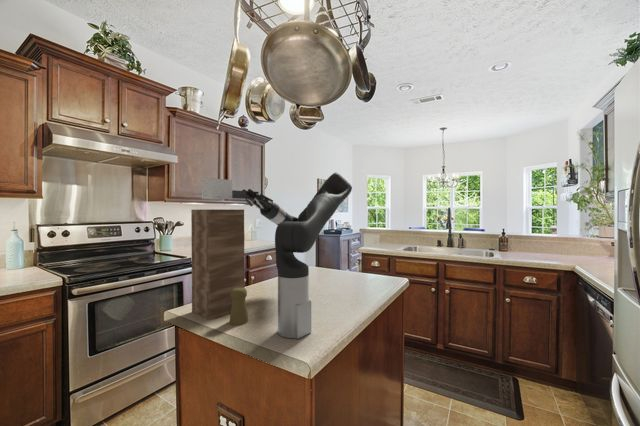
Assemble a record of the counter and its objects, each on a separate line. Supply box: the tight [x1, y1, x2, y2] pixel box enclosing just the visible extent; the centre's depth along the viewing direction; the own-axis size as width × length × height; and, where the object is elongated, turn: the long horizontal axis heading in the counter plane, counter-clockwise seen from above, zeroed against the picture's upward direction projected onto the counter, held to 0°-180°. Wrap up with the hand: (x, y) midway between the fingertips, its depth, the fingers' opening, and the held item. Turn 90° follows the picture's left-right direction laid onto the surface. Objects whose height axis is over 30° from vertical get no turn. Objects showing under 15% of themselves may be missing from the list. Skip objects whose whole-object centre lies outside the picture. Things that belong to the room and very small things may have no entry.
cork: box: [229, 287, 249, 326], centre depth 97 cm, size 6×6×11 cm
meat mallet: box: [201, 178, 260, 200], centre depth 113 cm, size 7×22×7 cm, turn 141°
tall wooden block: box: [190, 208, 245, 320], centre depth 108 cm, size 12×14×37 cm
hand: (245, 191), depth 117 cm, fingers closed on meat mallet, 3 cm apart
